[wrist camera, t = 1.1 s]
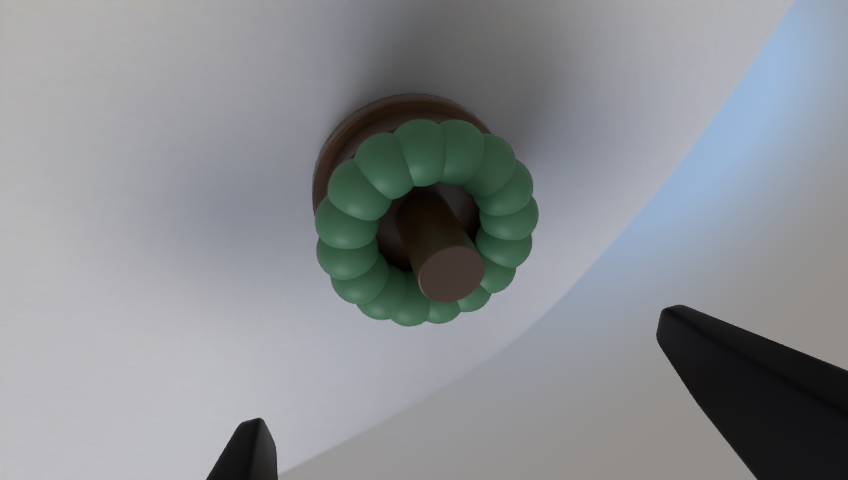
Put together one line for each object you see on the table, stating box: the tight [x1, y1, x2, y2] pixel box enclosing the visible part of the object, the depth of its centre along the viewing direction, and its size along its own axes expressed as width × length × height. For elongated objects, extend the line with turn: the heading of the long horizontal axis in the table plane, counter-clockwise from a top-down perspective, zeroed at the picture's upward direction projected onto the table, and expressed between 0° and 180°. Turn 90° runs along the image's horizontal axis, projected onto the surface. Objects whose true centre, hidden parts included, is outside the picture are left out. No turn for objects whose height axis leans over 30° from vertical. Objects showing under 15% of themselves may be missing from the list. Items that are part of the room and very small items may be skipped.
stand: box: [312, 94, 491, 303], centre depth 15 cm, size 8×8×6 cm
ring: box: [315, 119, 539, 326], centre depth 15 cm, size 8×8×2 cm
